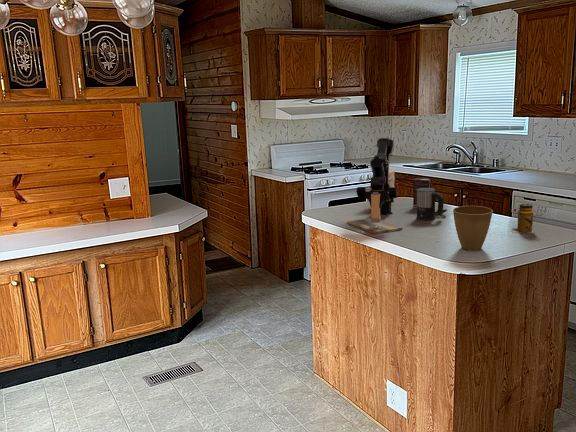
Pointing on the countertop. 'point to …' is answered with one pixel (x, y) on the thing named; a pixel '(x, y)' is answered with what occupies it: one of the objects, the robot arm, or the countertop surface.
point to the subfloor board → (374, 226)
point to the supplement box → (416, 185)
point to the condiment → (524, 219)
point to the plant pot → (472, 225)
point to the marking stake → (375, 208)
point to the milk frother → (428, 204)
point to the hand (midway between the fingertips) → (375, 207)
